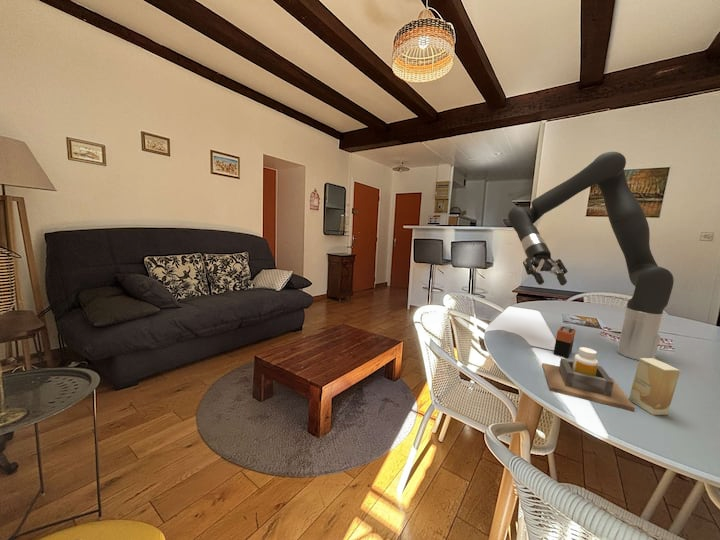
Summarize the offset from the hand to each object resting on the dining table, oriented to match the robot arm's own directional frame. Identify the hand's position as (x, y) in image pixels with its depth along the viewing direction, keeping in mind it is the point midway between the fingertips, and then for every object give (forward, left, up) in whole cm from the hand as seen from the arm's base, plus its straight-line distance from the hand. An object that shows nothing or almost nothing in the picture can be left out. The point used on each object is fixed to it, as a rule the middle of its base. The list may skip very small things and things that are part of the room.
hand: (553, 283), depth 102 cm
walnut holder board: (-7, +22, -25) cm, 34 cm away
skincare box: (-20, +26, -25) cm, 42 cm away
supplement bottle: (-7, +22, -24) cm, 33 cm away
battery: (-6, -1, -25) cm, 26 cm away
